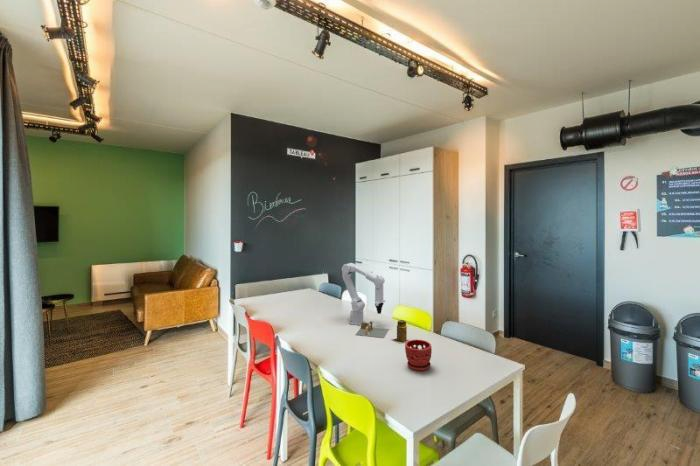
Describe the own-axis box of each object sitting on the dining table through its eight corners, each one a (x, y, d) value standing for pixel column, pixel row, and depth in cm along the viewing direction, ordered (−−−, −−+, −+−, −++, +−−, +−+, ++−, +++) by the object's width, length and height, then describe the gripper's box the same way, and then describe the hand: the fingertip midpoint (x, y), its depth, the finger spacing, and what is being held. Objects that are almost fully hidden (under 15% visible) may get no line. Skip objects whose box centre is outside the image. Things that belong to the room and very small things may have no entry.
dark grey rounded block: (360, 328, 220) (360, 321, 219) (361, 328, 222) (361, 320, 221) (372, 330, 217) (372, 322, 217) (372, 329, 219) (372, 321, 219)
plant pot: (412, 359, 173) (412, 337, 173) (435, 366, 165) (435, 343, 164) (400, 367, 163) (400, 344, 162) (424, 375, 155) (424, 351, 154)
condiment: (409, 340, 199) (409, 321, 198) (399, 343, 194) (399, 324, 194) (401, 337, 205) (401, 318, 204) (391, 340, 200) (391, 321, 200)
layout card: (355, 335, 209) (355, 334, 209) (362, 326, 225) (362, 326, 225) (383, 338, 203) (383, 337, 203) (388, 329, 219) (388, 328, 219)
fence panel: (369, 329, 217) (369, 324, 217) (371, 329, 217) (371, 324, 217) (365, 334, 209) (365, 328, 209) (366, 334, 209) (366, 328, 208)
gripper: (382, 297, 216) (382, 316, 216) (386, 292, 230) (386, 311, 230) (372, 296, 218) (372, 316, 219) (377, 291, 232) (377, 310, 232)
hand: (379, 313), depth 225 cm, fingers closed
